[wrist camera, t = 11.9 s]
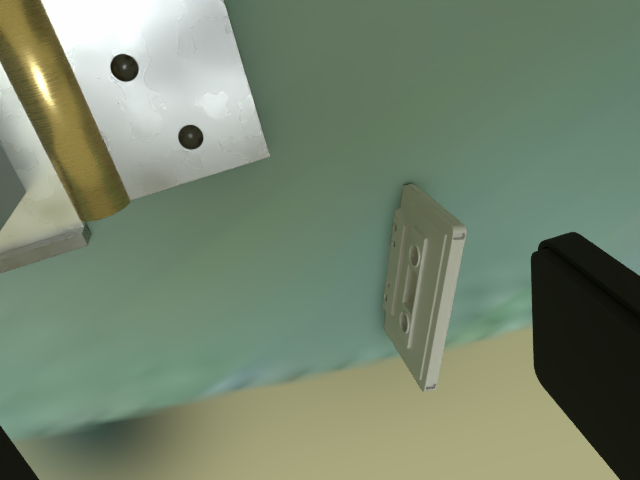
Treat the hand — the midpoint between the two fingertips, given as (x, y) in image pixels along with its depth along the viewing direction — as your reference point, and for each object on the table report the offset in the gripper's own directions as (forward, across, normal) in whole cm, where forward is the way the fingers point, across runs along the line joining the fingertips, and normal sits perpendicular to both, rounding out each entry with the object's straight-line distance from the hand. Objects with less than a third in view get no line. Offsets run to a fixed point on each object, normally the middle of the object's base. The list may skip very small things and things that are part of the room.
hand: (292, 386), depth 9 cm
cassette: (+26, -9, +15) cm, 31 cm away
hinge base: (+25, +9, -3) cm, 27 cm away
